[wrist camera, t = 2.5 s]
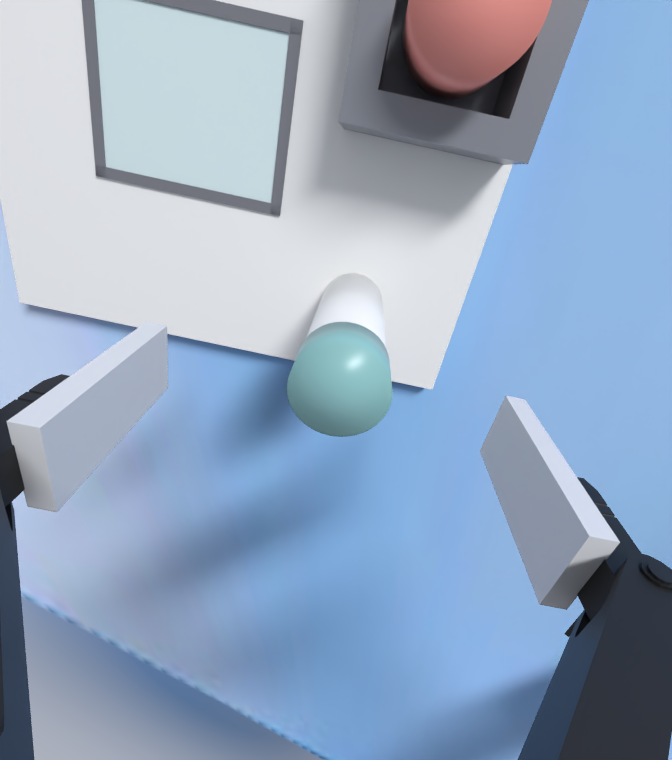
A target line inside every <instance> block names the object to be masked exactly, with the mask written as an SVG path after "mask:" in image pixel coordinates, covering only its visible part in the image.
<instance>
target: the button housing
mask: <svg viewBox="0 0 672 760" xmlns="http://www.w3.org/2000/svg"><path fill="white" fill-rule="evenodd" d="M588 1H589V0H552V2H551V6H550V9H549V12H548V15H547V17H546V20H545V22H544V24H543V26H542V28H541V30H540V32H539V34H538V35H537V37H536V39H535V40H534V42H533V43H532V45H531V46H530V47H529V48H528V50H527V51H526V52H525V53H524V54H523V55H522V56H521V57H520V58H519V60H518V61H516V62H515V63H514V64H513V65H511V66H510V67H509V68H508V69H506V70H505V71H504V72H502V73H501V74H500V75H498V76H497V77H496V78H494V79H493V80H492V81H490V82H489V83H488V84H486V85H485V86H484V87H482V88H481V89H479V90H478V91H476V92H474V93H472V94H470V95H468V96H465V97H462V98H456V99H444V98H439V97H436V96H433V95H431V94H429V93H428V92H426V91H425V90H423V89H422V88H421V87H420V86H419V85H418V84H417V83H416V81H415V80H414V79H413V77H412V75H411V74H410V72H409V70H408V67H407V65H406V61H405V58H404V53H403V44H402V34H403V25H404V19H405V14H406V9H407V5H408V0H359V1H358V7H357V13H356V19H355V25H354V31H353V37H352V43H351V49H350V55H349V61H348V67H347V73H346V79H345V85H344V91H343V97H342V103H341V109H340V115H339V121H338V122H339V123H340V124H341V126H342V127H343V129H345V130H350V131H354V132H359V133H363V134H368V135H372V136H377V137H381V138H386V139H390V140H395V141H399V142H404V143H408V144H413V145H417V146H422V147H426V148H430V149H435V150H439V151H444V152H448V153H453V154H457V155H462V156H466V157H471V158H475V159H480V160H484V161H489V162H493V163H498V164H502V165H510V164H528V162H529V160H530V157H531V154H532V152H533V149H534V146H535V144H536V141H537V138H538V135H539V133H540V130H541V127H542V125H543V122H544V119H545V117H546V114H547V111H548V109H549V106H550V103H551V101H552V98H553V95H554V93H555V90H556V87H557V85H558V82H559V79H560V77H561V74H562V71H563V68H564V66H565V63H566V60H567V58H568V55H569V52H570V50H571V47H572V44H573V42H574V39H575V36H576V34H577V31H578V28H579V26H580V23H581V20H582V18H583V15H584V12H585V9H586V7H587V4H588Z"/></svg>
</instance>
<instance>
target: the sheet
mask: <svg viewBox="0 0 672 760" xmlns="http://www.w3.org/2000/svg"><path fill="white" fill-rule="evenodd" d="M358 1H359V0H0V200H1V206H2V211H3V216H4V222H5V227H6V232H7V237H8V243H9V248H10V253H11V259H12V264H13V269H14V275H15V280H16V285H17V291H18V296H19V301H20V303H24V304H29V305H34V306H39V307H43V308H48V309H53V310H58V311H62V312H67V313H72V314H76V315H81V316H86V317H91V318H95V319H100V320H105V321H110V322H114V323H119V324H124V325H129V326H133V327H140V326H141V325H143V324H144V323H145V322H152V323H157V324H162V325H166V326H167V334H171V335H176V336H181V337H185V338H190V339H195V340H199V341H204V342H209V343H214V344H218V345H223V346H228V347H233V348H237V349H242V350H247V351H251V352H256V353H261V354H266V355H270V356H275V357H280V358H285V359H289V360H294V361H295V359H296V357H297V354H298V352H299V349H300V347H301V345H302V343H303V341H304V340H305V339H306V337H307V335H308V332H309V329H310V327H311V324H312V322H313V319H314V316H315V314H316V311H317V309H318V306H319V304H320V301H321V298H322V296H323V293H324V291H325V289H326V287H327V286H328V284H329V283H330V282H331V281H332V280H333V279H335V278H336V277H338V276H340V275H343V274H347V273H357V274H361V275H364V276H366V277H368V278H370V279H371V280H372V281H373V282H374V283H375V284H376V285H377V286H378V288H379V290H380V292H381V295H382V302H383V314H384V326H385V338H386V349H387V352H388V355H389V360H390V370H391V381H393V382H398V383H403V384H407V385H412V386H417V387H422V388H426V389H431V390H432V389H433V386H434V383H435V381H436V378H437V375H438V372H439V369H440V367H441V364H442V361H443V358H444V355H445V353H446V350H447V347H448V344H449V341H450V339H451V336H452V333H453V330H454V327H455V325H456V322H457V319H458V316H459V313H460V311H461V308H462V305H463V302H464V299H465V297H466V294H467V291H468V288H469V285H470V283H471V280H472V277H473V274H474V271H475V269H476V266H477V263H478V260H479V257H480V255H481V252H482V249H483V246H484V244H485V241H486V238H487V235H488V232H489V230H490V227H491V224H492V221H493V218H494V216H495V213H496V210H497V207H498V204H499V202H500V199H501V196H502V193H503V190H504V188H505V185H506V182H507V179H508V176H509V174H510V171H511V168H512V165H513V164H510V165H502V164H498V163H493V162H489V161H484V160H480V159H475V158H471V157H466V156H462V155H457V154H453V153H448V152H444V151H439V150H435V149H430V148H426V147H422V146H417V145H413V144H408V143H404V142H399V141H395V140H390V139H386V138H381V137H377V136H372V135H368V134H363V133H359V132H354V131H350V130H345V129H343V127H342V126H341V124H340V123H339V122H338V121H339V115H340V109H341V103H342V97H343V91H344V85H345V79H346V73H347V67H348V61H349V55H350V49H351V43H352V37H353V31H354V25H355V19H356V13H357V7H358Z"/></svg>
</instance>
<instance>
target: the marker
mask: <svg viewBox="0 0 672 760" xmlns="http://www.w3.org/2000/svg"><path fill="white" fill-rule="evenodd" d="M287 396H288V401H289V403H290V406H291V408H292V410H293V411H294V413H295V414H296V416H297V417H298V418H299V419H300V420H301V421H302V422H303V423H304V424H306V425H307V426H308V427H310V428H311V429H313V430H315V431H317V432H320V433H323V434H326V435H330V436H339V437H344V436H353V435H357V434H361V433H363V432H366V431H368V430H369V429H371V428H373V427H374V426H375V425H377V424H378V423H379V422H380V421H381V420H382V419H383V418H384V416H385V415H386V413H387V411H388V410H389V407H390V405H391V401H392V381H391V370H390V360H389V355H388V352H387V349H386V338H385V326H384V314H383V302H382V295H381V292H380V290H379V288H378V286H377V285H376V284H375V283H374V282H373V281H372V280H371V279H370V278H368V277H366V276H364V275H361V274H357V273H347V274H343V275H340V276H338V277H336V278H335V279H333V280H332V281H331V282H330V283H329V284H328V286H327V287H326V289H325V291H324V293H323V296H322V298H321V301H320V304H319V306H318V309H317V311H316V314H315V316H314V319H313V322H312V324H311V327H310V329H309V332H308V335H307V337H306V339H305V340H304V341H303V343H302V345H301V347H300V349H299V352H298V354H297V357H296V359H295V362H294V364H293V367H292V369H291V372H290V374H289V377H288V381H287Z"/></svg>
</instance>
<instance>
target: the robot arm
mask: <svg viewBox="0 0 672 760" xmlns="http://www.w3.org/2000/svg"><path fill="white" fill-rule="evenodd" d="M167 389H168V354H167V326H166V325H162V324H157V323H152V322H145V323H144V324H143V325H141V326H140V327H138V328H137V329H136V330H134V331H133V332H131V333H130V334H129V335H127V336H126V337H124V338H123V339H122V340H120V341H119V342H117V343H116V344H115V345H113V346H112V347H110V348H109V349H108V350H106V351H105V352H103V353H102V354H100V355H99V356H98V357H96V358H95V359H93V360H92V361H91V362H89V363H88V364H86V365H85V366H84V367H82V368H81V369H79V370H78V371H77V372H75V373H74V374H72V375H71V376H67V375H62V374H61V375H58V376H56V377H53V378H50V379H47V380H44V381H42V382H41V383H39V384H38V385H36V386H35V387H33V388H32V389H30V390H29V392H26V393H24V394H23V395H21V396H20V397H18V400H14V401H12V402H11V403H9V404H8V405H6V406H5V407H3V408H2V409H0V760H34V750H33V738H32V726H31V713H30V702H29V689H28V678H27V664H26V653H25V639H24V627H23V615H22V603H21V590H20V578H19V566H18V553H17V541H16V529H15V516H14V508H13V505H12V501H13V500H14V499H15V498H16V497H17V496H18V495H19V494H20V493H21V492H22V491H23V490H24V494H25V498H26V502H27V506H28V507H32V508H37V509H43V510H48V511H53V512H58V510H59V509H60V508H61V507H62V506H63V505H64V504H65V503H66V501H67V500H68V499H69V498H70V497H71V496H72V495H73V494H74V493H75V491H76V490H77V489H78V488H79V487H80V486H81V485H82V484H83V482H84V481H85V480H86V479H87V478H88V477H89V476H90V475H91V474H92V472H93V471H94V470H95V469H96V468H97V467H98V466H99V465H100V463H101V462H102V461H103V460H104V459H105V458H106V457H107V456H108V455H109V453H110V452H111V451H112V450H113V449H114V448H115V447H116V446H117V444H118V443H119V442H120V441H121V440H122V439H123V438H124V437H125V436H126V434H127V433H128V432H129V431H130V430H131V429H132V428H133V427H134V425H135V424H136V423H137V422H138V421H139V420H140V419H141V418H142V416H143V415H144V414H145V413H146V412H147V411H148V410H149V409H150V408H151V406H152V405H153V404H154V403H155V402H156V401H157V400H158V399H159V397H160V396H161V395H162V394H163V393H164V392H165V391H166V390H167ZM480 453H481V455H482V458H483V460H484V463H485V466H486V468H487V471H488V473H489V476H490V478H491V481H492V484H493V486H494V489H495V491H496V494H497V496H498V499H499V502H500V504H501V507H502V509H503V512H504V514H505V517H506V520H507V522H508V525H509V527H510V530H511V532H512V535H513V538H514V540H515V543H516V545H517V548H518V550H519V553H520V555H521V558H522V561H523V563H524V566H525V568H526V571H527V573H528V576H529V579H530V581H531V584H532V586H533V589H534V591H535V594H536V597H537V599H538V602H539V604H540V605H545V606H550V607H556V608H561V609H566V610H567V609H568V607H569V606H570V605H571V604H572V602H573V601H574V600H575V599H576V597H577V596H578V597H579V599H580V601H581V603H582V605H583V607H584V609H585V610H584V611H583V612H582V613H581V615H580V616H579V617H578V618H577V619H576V621H575V622H574V623H573V624H572V625H571V627H570V628H569V629H568V630H567V631H566V633H565V634H566V635H567V636H568V637H569V636H570V638H569V640H568V642H567V645H566V647H565V649H564V652H563V654H562V656H561V659H560V661H559V664H558V666H557V668H556V671H555V673H554V675H553V678H552V680H551V682H550V685H549V687H548V689H547V692H546V694H545V697H544V699H543V701H542V704H541V706H540V708H539V711H538V713H537V715H536V718H535V720H534V723H533V725H532V727H531V730H530V732H529V734H528V737H527V739H526V741H525V744H524V746H523V748H522V751H521V753H520V756H519V758H518V760H668V755H669V748H670V740H671V732H672V570H671V569H670V568H669V567H667V566H666V565H665V564H663V563H662V562H660V561H658V560H656V559H654V558H652V557H650V556H648V555H644V554H641V552H640V551H639V549H638V548H637V546H636V545H635V544H634V542H633V541H632V539H631V538H630V536H629V535H628V534H627V532H626V531H625V529H624V528H623V526H622V525H621V524H620V522H619V521H618V519H617V518H614V514H613V512H612V511H611V509H610V508H609V507H607V504H606V502H605V501H604V499H603V498H602V497H601V495H600V494H599V492H598V491H597V490H596V489H595V488H594V487H592V486H591V485H590V484H589V483H588V482H587V481H586V480H585V479H584V478H579V477H576V475H575V474H574V472H573V471H572V469H571V468H570V466H569V465H568V463H567V462H566V460H565V459H564V457H563V456H562V454H561V453H560V451H559V450H558V448H557V447H556V445H555V444H554V442H553V441H552V439H551V438H550V436H549V435H548V433H547V432H546V430H545V429H544V427H543V426H542V424H541V423H540V421H539V420H538V418H537V417H536V415H535V414H534V412H533V411H532V409H531V408H530V406H529V405H528V403H527V402H526V400H524V399H520V398H515V397H510V396H505V398H504V400H503V403H502V405H501V407H500V409H499V411H498V413H497V415H496V418H495V420H494V422H493V424H492V426H491V428H490V430H489V433H488V435H487V437H486V439H485V441H484V443H483V445H482V448H481V450H480Z"/></svg>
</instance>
